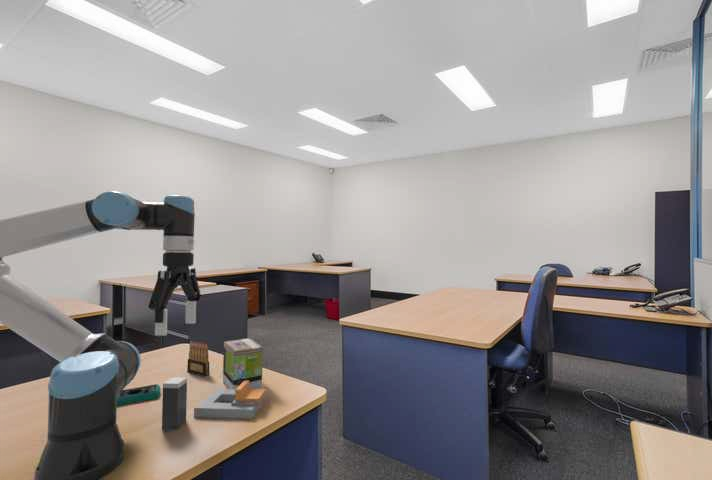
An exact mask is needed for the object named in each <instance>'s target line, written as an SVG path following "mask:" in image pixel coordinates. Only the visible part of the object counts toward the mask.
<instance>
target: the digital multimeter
mask: <svg viewBox="0 0 712 480" xmlns="http://www.w3.org/2000/svg"><path fill="white" fill-rule="evenodd" d="M160 396H161V386H160V385H159V384H158V383H155V384H150V385H144V386H139V387H134V388H128V389H123V390H122V391H121V392H120V393H119V394H118V396H117V407H119V406H122V405H129V404H135V403H140V402H144V401H145V402H146V401H151V400H156V399H159V397H160Z"/></svg>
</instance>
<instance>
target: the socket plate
mask: <svg viewBox="0 0 712 480" xmlns="http://www.w3.org/2000/svg"><path fill="white" fill-rule="evenodd" d="M266 398H267V399H268V389H266V395H265V396H264V397H263V399H262V400H261V401H260V403H259V404H256V403H254V402H235V389H228V388H223V389H222V388H215V389H214V390H213V391H211V393H209V394H208V395H207V396H205V398H204V399H203V400H201V402H199V403H198V404H197V405H196V406H195V407H193V417H194V418H217V419H218V418H221V419H225V418H226V419H248V420H249V419H251V420H252V419H253V418H254V417H255V415H257V413H258V411H259V410H260V408H261V407H262V406H263V404H264V403H265V401H267V399H266Z"/></svg>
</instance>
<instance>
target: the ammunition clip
mask: <svg viewBox="0 0 712 480" xmlns="http://www.w3.org/2000/svg"><path fill="white" fill-rule="evenodd" d="M208 346H209V345H208V344H207V343H204V342H203V343H201V342H198V341H192V340H190V344H189V350H188V358H187V370H186V372H187V373H190V374H193V373H194V375H197V374H198V375H197V376H201V375H202V376H201V377H205V376H206V377H208V376H210V361H209V347H208ZM207 375H208V376H207Z"/></svg>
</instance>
